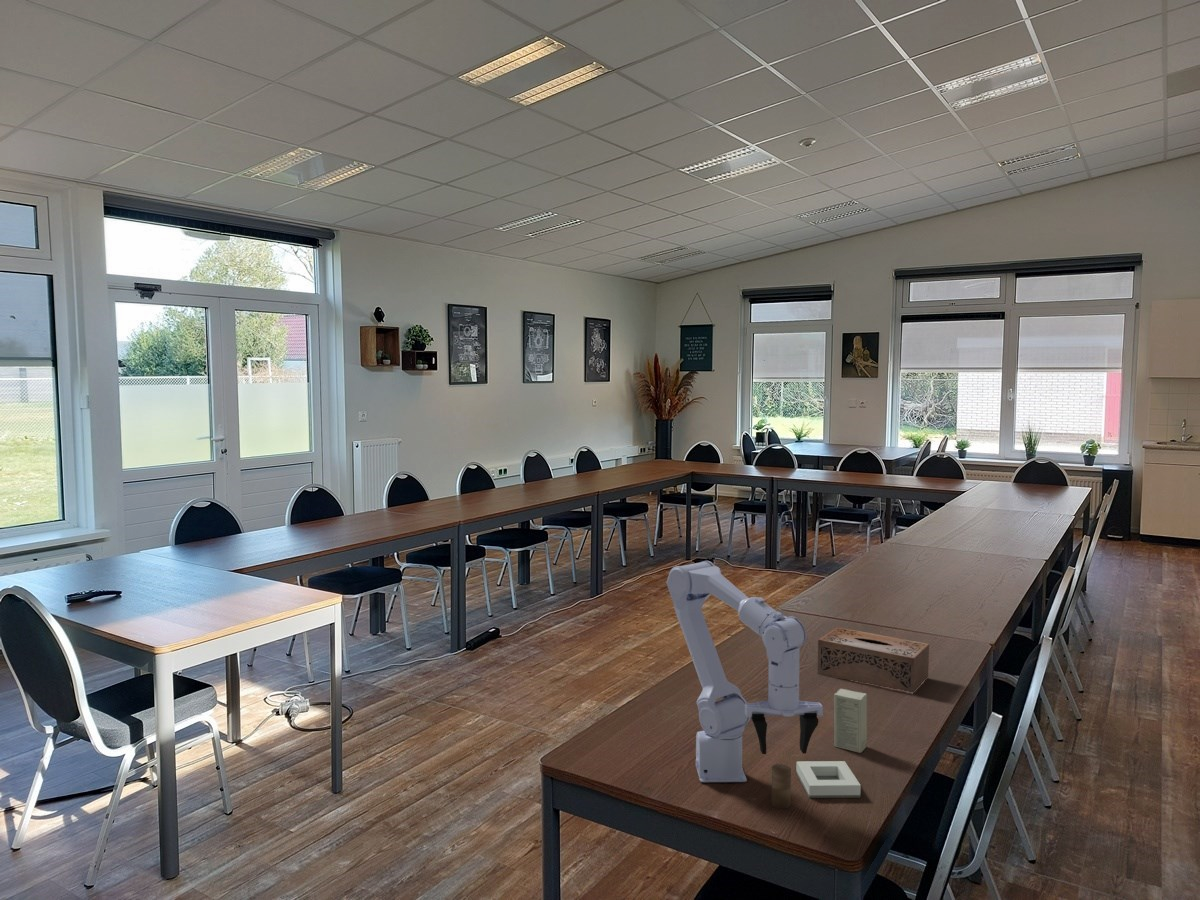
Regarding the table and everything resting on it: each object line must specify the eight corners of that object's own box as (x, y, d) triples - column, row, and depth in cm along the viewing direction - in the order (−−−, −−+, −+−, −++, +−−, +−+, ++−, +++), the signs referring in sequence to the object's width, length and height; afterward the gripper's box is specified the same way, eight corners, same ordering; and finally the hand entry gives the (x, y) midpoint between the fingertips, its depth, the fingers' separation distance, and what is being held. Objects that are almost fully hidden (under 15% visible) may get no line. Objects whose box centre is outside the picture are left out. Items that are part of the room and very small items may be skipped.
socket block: (809, 797, 156) (809, 785, 156) (796, 773, 166) (796, 761, 166) (860, 797, 156) (860, 785, 156) (844, 772, 166) (844, 761, 166)
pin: (773, 808, 152) (774, 773, 152) (769, 798, 156) (770, 764, 155) (792, 808, 152) (793, 773, 152) (788, 798, 156) (788, 764, 155)
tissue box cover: (817, 674, 223) (818, 639, 222) (836, 660, 235) (836, 627, 234) (913, 695, 208) (914, 658, 207) (928, 679, 219) (929, 643, 218)
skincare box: (867, 746, 178) (868, 693, 177) (860, 754, 174) (862, 700, 173) (839, 739, 182) (840, 687, 181) (832, 746, 178) (833, 693, 177)
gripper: (749, 690, 148) (749, 761, 149) (828, 689, 148) (827, 760, 149) (742, 677, 155) (742, 745, 156) (817, 676, 155) (816, 743, 156)
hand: (783, 751), depth 153 cm, fingers open, 7 cm apart
